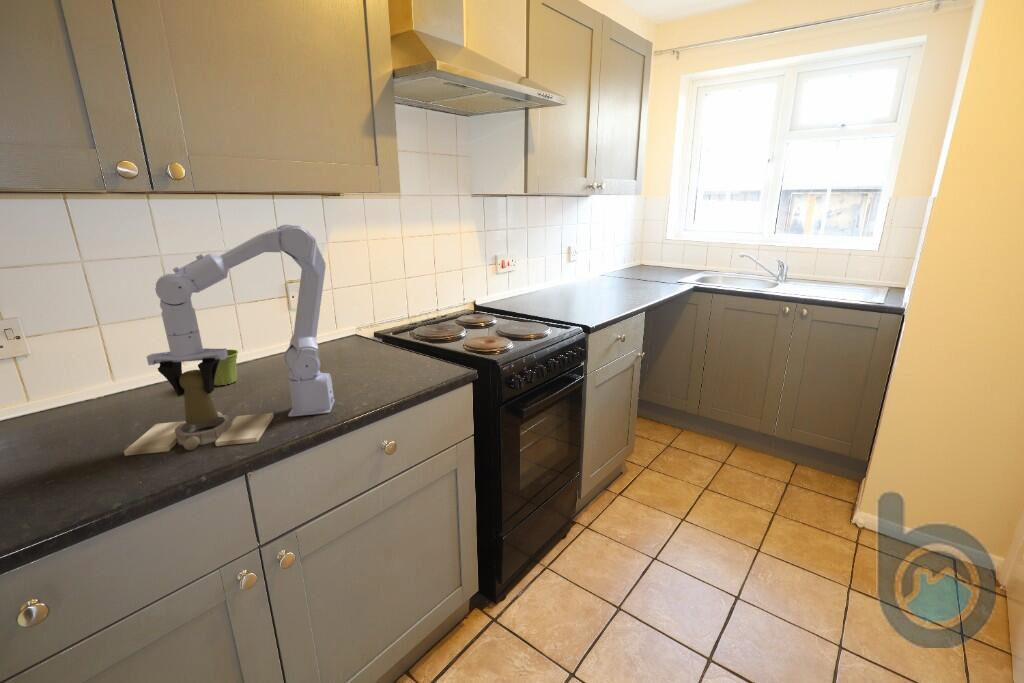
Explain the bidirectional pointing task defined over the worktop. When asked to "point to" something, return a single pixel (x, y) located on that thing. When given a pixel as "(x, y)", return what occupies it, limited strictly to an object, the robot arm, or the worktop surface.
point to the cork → (196, 398)
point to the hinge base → (201, 433)
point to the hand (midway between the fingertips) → (196, 393)
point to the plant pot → (227, 369)
